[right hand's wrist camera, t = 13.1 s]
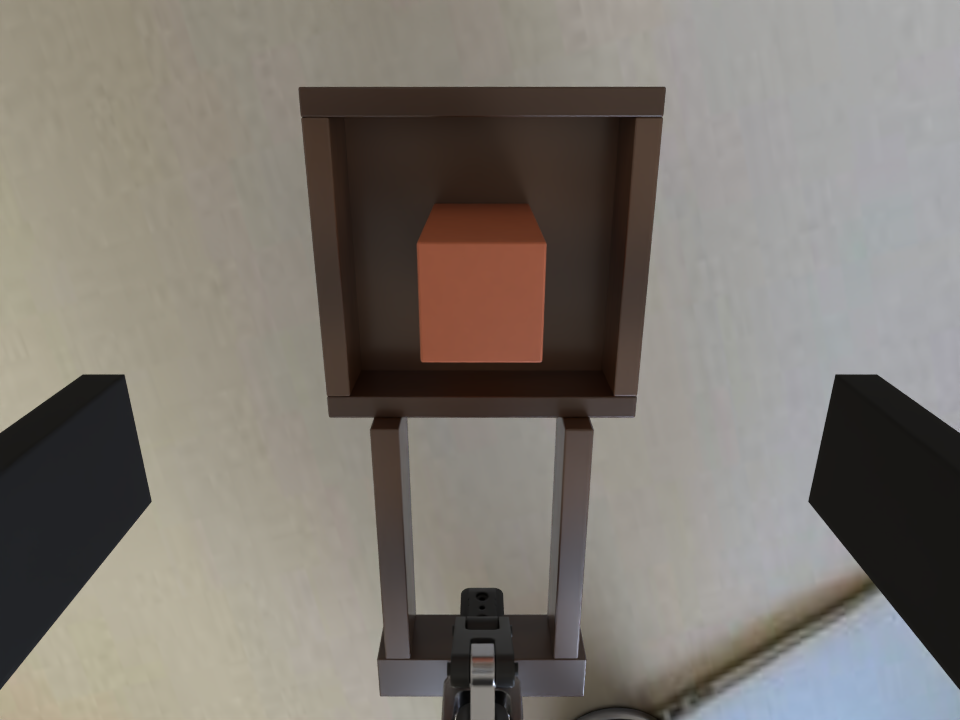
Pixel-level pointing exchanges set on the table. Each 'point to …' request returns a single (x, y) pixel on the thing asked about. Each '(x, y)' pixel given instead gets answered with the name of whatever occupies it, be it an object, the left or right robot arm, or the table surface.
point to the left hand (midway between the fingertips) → (482, 616)
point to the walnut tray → (482, 385)
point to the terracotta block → (481, 284)
